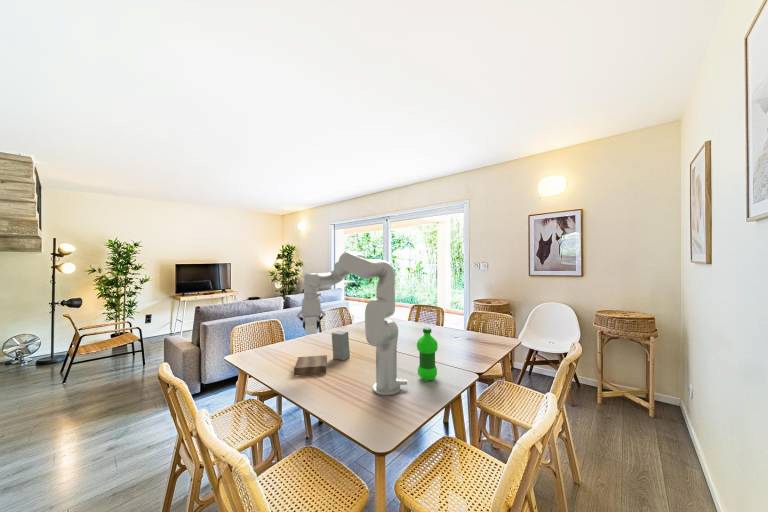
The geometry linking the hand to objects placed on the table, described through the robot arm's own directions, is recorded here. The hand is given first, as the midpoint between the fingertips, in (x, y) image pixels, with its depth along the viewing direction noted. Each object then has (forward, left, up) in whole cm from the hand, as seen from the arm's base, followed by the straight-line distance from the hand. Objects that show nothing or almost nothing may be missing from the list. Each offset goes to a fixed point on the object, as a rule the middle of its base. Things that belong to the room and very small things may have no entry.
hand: (311, 328), depth 153 cm
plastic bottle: (-58, +24, -22) cm, 67 cm away
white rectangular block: (0, 0, -2) cm, 2 cm away
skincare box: (-16, -13, -22) cm, 30 cm away
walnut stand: (0, 0, -22) cm, 22 cm away
